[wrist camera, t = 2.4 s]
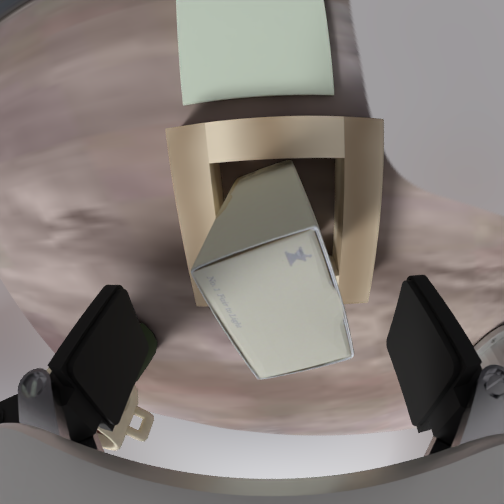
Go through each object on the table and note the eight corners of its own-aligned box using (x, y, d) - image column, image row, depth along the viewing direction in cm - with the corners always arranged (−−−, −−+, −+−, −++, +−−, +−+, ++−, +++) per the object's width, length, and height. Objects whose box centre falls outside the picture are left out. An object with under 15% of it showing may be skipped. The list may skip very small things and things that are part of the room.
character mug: (188, 339, 27) (149, 452, 16) (167, 371, 30) (133, 464, 19) (96, 286, 25) (24, 378, 14) (88, 326, 28) (34, 408, 17)
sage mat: (317, -24, 11) (318, -27, 11) (332, 95, 16) (334, 94, 15) (178, -11, 13) (175, -13, 12) (185, 105, 17) (183, 105, 17)
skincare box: (234, 178, 19) (178, 263, 9) (294, 156, 18) (318, 217, 8) (266, 253, 22) (253, 384, 11) (321, 235, 21) (356, 360, 10)
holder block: (368, 118, 16) (383, 119, 14) (359, 280, 22) (367, 302, 20) (181, 126, 18) (165, 128, 15) (205, 284, 24) (196, 306, 21)
